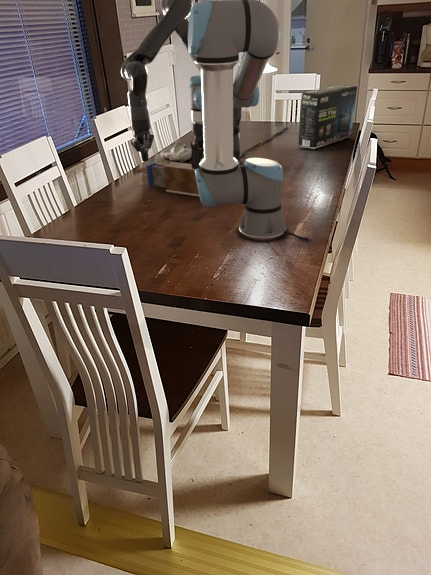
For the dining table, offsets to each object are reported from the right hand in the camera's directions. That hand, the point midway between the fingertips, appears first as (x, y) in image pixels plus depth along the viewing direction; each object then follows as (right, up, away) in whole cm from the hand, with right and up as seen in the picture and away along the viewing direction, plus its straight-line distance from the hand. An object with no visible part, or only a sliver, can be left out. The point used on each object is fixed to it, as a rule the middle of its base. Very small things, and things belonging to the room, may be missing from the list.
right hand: (204, 182), depth 180 cm
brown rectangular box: (-5, -3, +5) cm, 8 cm away
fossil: (-14, +24, +49) cm, 57 cm away
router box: (+63, +36, +64) cm, 97 cm away
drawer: (-16, +1, +10) cm, 19 cm away
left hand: (-25, +11, +9) cm, 29 cm away
